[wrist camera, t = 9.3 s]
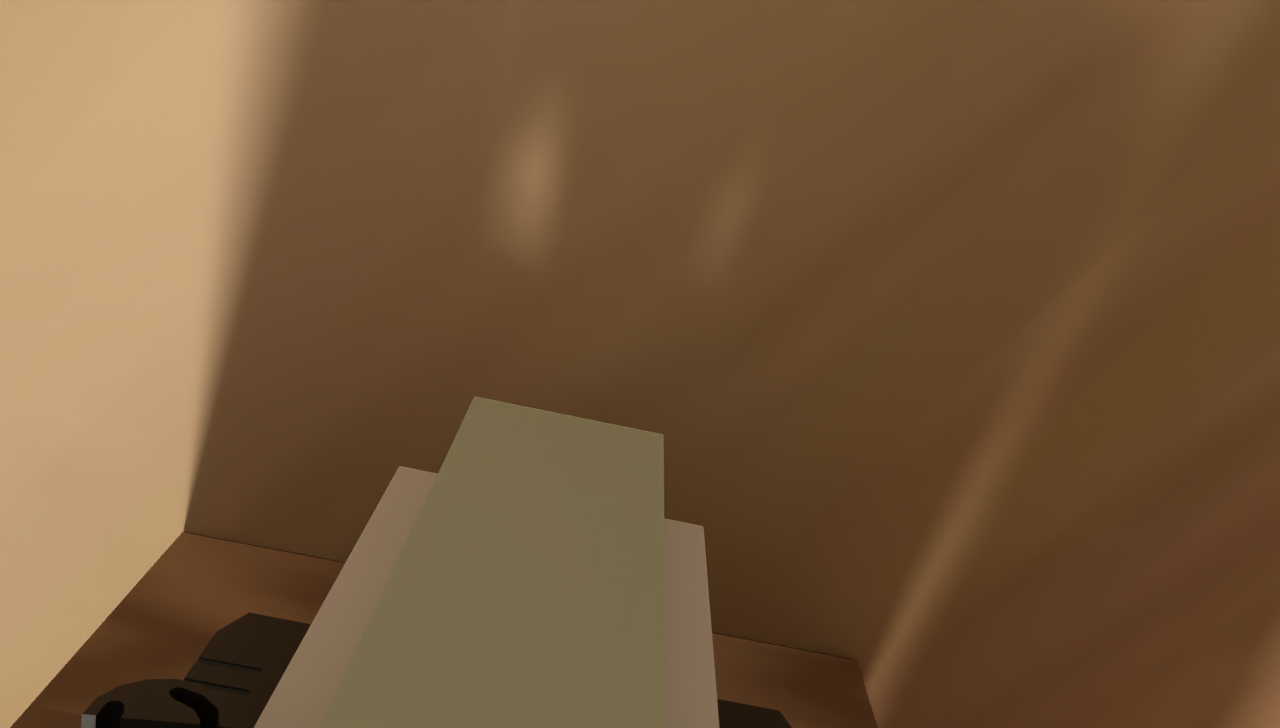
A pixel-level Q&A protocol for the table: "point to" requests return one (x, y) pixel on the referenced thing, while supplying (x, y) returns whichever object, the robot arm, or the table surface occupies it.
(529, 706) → the slot plate
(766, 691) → the brown wooden slotted board
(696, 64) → the table surface
